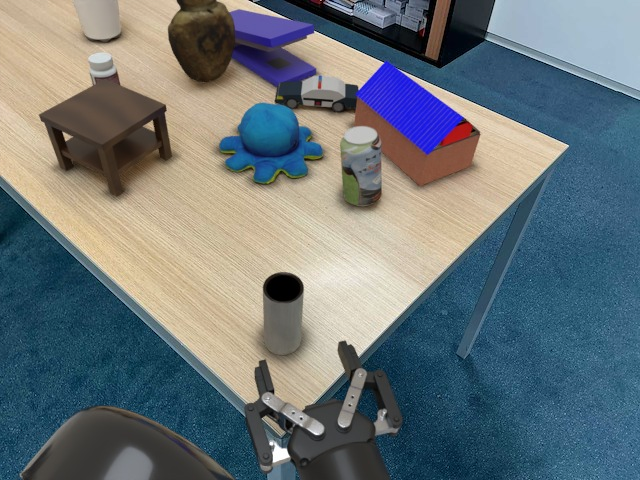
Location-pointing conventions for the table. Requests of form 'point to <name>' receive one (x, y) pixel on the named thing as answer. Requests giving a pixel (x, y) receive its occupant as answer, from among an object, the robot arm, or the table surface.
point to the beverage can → (361, 166)
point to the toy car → (317, 93)
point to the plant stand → (107, 130)
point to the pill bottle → (102, 68)
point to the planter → (283, 312)
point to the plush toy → (270, 143)
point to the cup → (99, 18)
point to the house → (415, 126)
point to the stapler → (270, 46)
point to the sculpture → (202, 38)
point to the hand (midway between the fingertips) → (302, 354)
